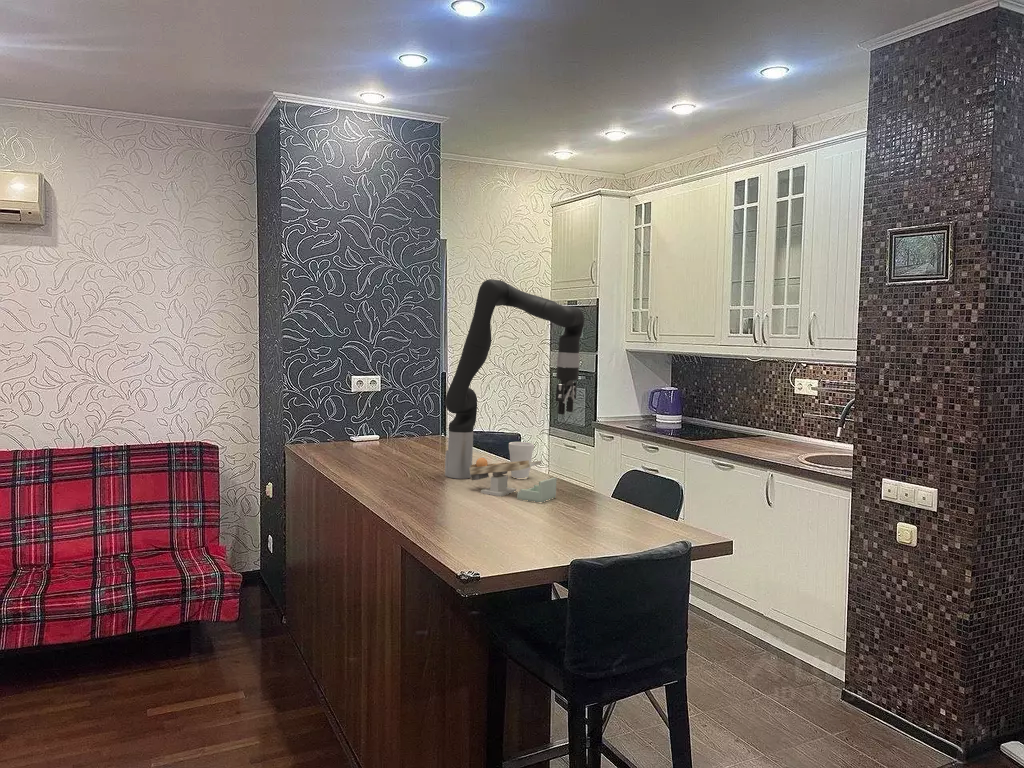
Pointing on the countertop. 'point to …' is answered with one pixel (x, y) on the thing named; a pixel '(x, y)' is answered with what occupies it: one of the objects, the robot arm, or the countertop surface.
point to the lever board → (499, 468)
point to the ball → (481, 462)
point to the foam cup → (520, 456)
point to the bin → (539, 491)
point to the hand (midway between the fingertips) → (565, 413)
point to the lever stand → (498, 486)
